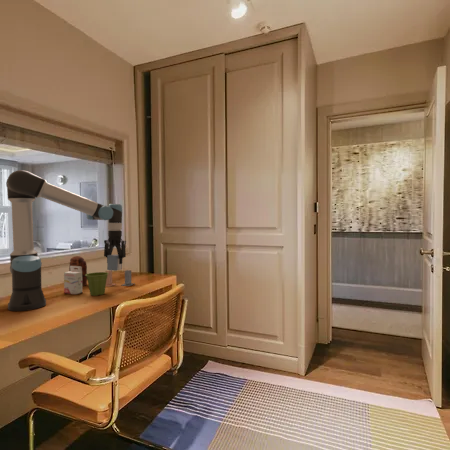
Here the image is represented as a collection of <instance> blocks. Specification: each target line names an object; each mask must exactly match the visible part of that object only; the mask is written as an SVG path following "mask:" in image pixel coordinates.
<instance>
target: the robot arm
mask: <svg viewBox="0 0 450 450" xmlns="http://www.w3.org/2000/svg"><path fill="white" fill-rule="evenodd" d="M5 183H6V184H5V185H6V189H7V191H6V192H7V200H8V201H9V202H10V203H11V217H12V219H11V220H12V221H11V222H12V242H13V244H12V245H13V251H11V253H10V254H9V256H10V257H9V259H10V265H9V271H10V273H11V284H12V285H11V287H12V290H11V291H12V292H11V294H10V295H11V296H10V298H9V301H8V304H7V310H8V311H11V312H25V311H31V310H36V309H39V308H43V307H45V306H46V305H47V300H46V298H45V295H44V292H43V288H42V263H43V262H42V259H41V258H40V257H39V256H38V251H36V250H35V249H34V248H35V246H34V223H33V221H34V219H33V218H34V217H33V202H35V200H36V198H37V199H38V198H43V199H45V200H48V201H50V202H53V203H56V204H59V205H62V206H63V207H64V206H65V207H67V208H70V209H73V210H75V211H78V212H80V213H83V214H85V216H86V219H87V220H90V221H91V220H92V221H108V223H107V224H108V226H107V227H108V233H107V234H108V239H104V240H103V243H104V252H103V257H104V258H107V255H113V254H112V253H113V250H114V247H115V248H116V253H117V255H118V257H119V258H118V267H117V271H120V269H121V264H122V265H123V260H124V258H126V243H127V241H126V240H123V239H122V236H123V235H122V234H123V231H122V230H123V206H122V204H118V203H109V204H108V205H104V204H102V203H98V202H96V201H94V200H91V199H89V198H87V197H84V196H81V195H80V194H76V193H73V192H71V191H69V190H66V189H64V188H62V187H59V186H56V185H53V184H51V183H49V182H47V179H44V178H42V177H41V176H38V175H36V174H34V173H32V172H30V171H28V170H23V169H19V170H15V171H13V172H11V173H10V174H9V175H8V177H7V179H6V182H5ZM121 270H122V269H121Z"/></svg>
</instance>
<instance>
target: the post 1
mask: <svg viewBox="0 0 450 450" xmlns="http://www.w3.org/2000/svg"><path fill="white" fill-rule="evenodd" d="M105 272H107V273H109V274H108V275H107V279H106V286H105V287H113V286H115V285H117V283H113V270H107V269H106V270H105Z"/></svg>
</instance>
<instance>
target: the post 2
mask: <svg viewBox="0 0 450 450" xmlns="http://www.w3.org/2000/svg"><path fill="white" fill-rule="evenodd" d="M133 284H134V285H135V284H136V283H132V269H131V270H130V269H127V270H124V283H122V284H121V286H122V287H132V286H134V285H133Z"/></svg>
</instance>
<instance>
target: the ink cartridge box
mask: <svg viewBox="0 0 450 450" xmlns="http://www.w3.org/2000/svg"><path fill="white" fill-rule="evenodd" d="M69 267H70V271H69V270H68V271H65V272H63V292H64V294H69V295H78V294H81V293H83V286H82V267H81V266H70V265H69ZM74 268H78V269H74Z"/></svg>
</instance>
